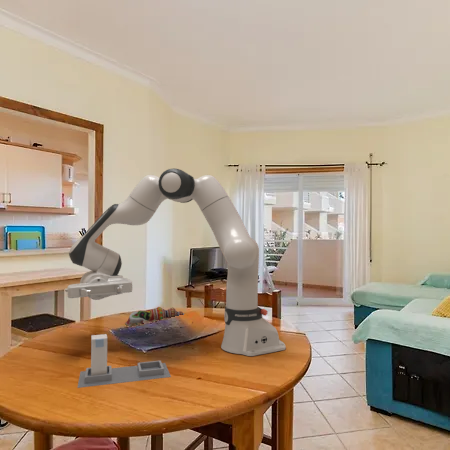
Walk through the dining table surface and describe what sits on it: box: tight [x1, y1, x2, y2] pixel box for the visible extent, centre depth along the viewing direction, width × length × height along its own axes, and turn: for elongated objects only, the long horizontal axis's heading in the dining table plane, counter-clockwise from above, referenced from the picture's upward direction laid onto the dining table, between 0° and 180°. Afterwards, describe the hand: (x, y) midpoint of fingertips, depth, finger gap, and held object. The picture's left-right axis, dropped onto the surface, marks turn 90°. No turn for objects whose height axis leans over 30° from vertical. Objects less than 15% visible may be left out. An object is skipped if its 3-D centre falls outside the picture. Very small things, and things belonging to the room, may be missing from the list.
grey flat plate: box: [77, 360, 172, 389], centre depth 102 cm, size 24×11×2 cm, turn 108°
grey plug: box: [90, 333, 108, 376], centre depth 100 cm, size 4×5×11 cm
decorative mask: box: [124, 306, 185, 327], centre depth 160 cm, size 24×8×30 cm
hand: (104, 291), depth 113 cm, fingers open, 8 cm apart
